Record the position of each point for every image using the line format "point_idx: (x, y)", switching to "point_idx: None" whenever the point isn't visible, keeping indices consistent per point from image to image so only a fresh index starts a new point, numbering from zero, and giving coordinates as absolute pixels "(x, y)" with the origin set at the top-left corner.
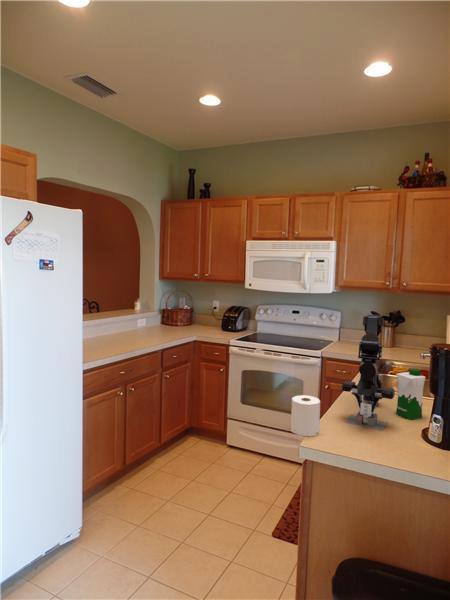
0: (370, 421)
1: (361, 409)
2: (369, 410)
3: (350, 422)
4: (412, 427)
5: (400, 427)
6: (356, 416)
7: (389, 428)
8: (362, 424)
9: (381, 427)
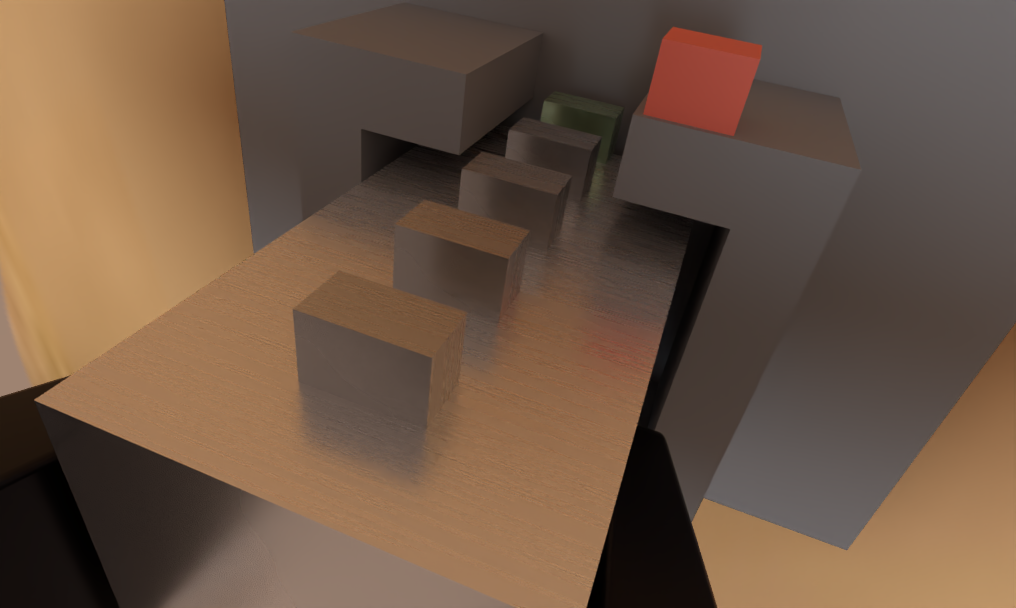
0: (419, 39)
1: (611, 348)
2: (316, 270)
3: (991, 97)
4: (59, 290)
5: (143, 255)
6: (825, 150)
7: (231, 171)
8: (649, 68)
9: (274, 47)
